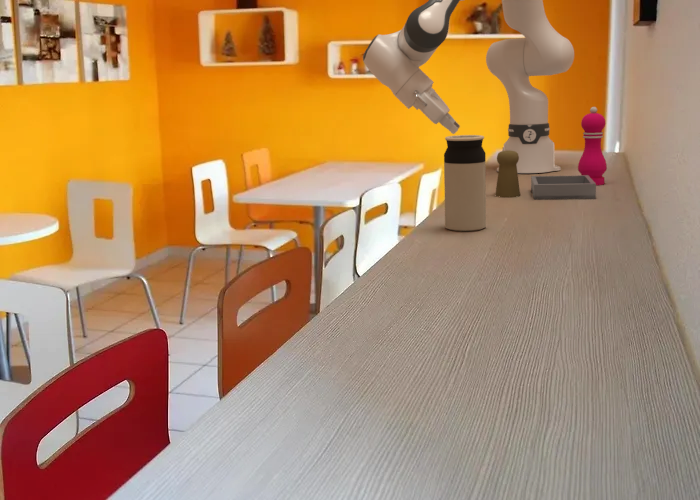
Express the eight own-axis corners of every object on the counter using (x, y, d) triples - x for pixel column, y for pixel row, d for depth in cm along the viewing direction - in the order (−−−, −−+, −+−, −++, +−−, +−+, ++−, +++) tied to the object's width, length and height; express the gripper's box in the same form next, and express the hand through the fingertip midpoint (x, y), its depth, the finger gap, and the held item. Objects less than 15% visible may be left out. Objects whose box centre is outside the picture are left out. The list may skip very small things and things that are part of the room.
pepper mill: (603, 181, 216) (605, 105, 212) (608, 185, 209) (611, 106, 205) (575, 182, 217) (576, 106, 213) (580, 186, 210) (581, 107, 206)
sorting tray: (531, 189, 207) (531, 176, 206) (587, 189, 205) (588, 175, 204) (534, 199, 192) (534, 184, 191) (595, 198, 189) (596, 183, 188)
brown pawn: (520, 197, 196) (520, 151, 194) (494, 197, 197) (494, 152, 195) (520, 193, 202) (520, 149, 199) (495, 193, 203) (495, 149, 201)
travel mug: (488, 231, 157) (488, 137, 153) (447, 232, 157) (445, 138, 153) (482, 223, 164) (482, 134, 160) (443, 225, 165) (442, 135, 161)
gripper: (421, 82, 187) (464, 123, 187) (428, 80, 207) (467, 118, 207) (402, 102, 189) (445, 143, 189) (411, 99, 208) (450, 136, 209)
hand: (457, 130), depth 198 cm, fingers open, 8 cm apart
